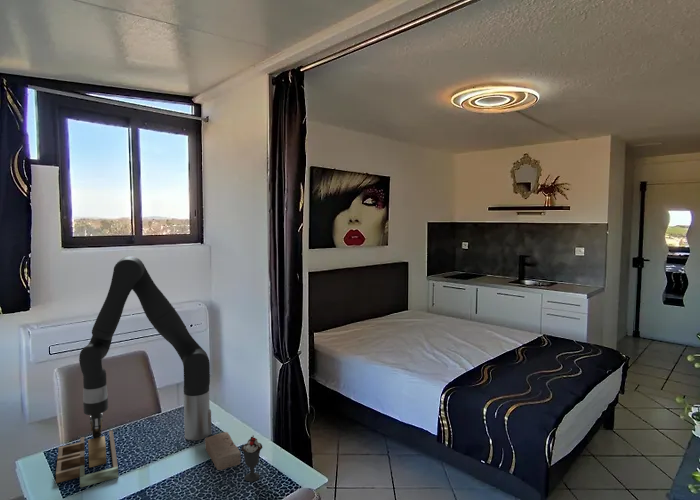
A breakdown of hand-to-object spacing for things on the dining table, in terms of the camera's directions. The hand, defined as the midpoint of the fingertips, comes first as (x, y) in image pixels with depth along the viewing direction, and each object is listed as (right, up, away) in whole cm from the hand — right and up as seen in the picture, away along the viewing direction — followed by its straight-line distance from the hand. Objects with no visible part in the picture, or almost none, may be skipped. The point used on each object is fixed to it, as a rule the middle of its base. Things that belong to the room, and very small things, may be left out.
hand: (97, 444), depth 153 cm
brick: (+46, -3, -2) cm, 46 cm away
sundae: (+59, -4, -15) cm, 61 cm away
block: (+3, -3, -6) cm, 7 cm away
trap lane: (+1, -3, -8) cm, 8 cm away
